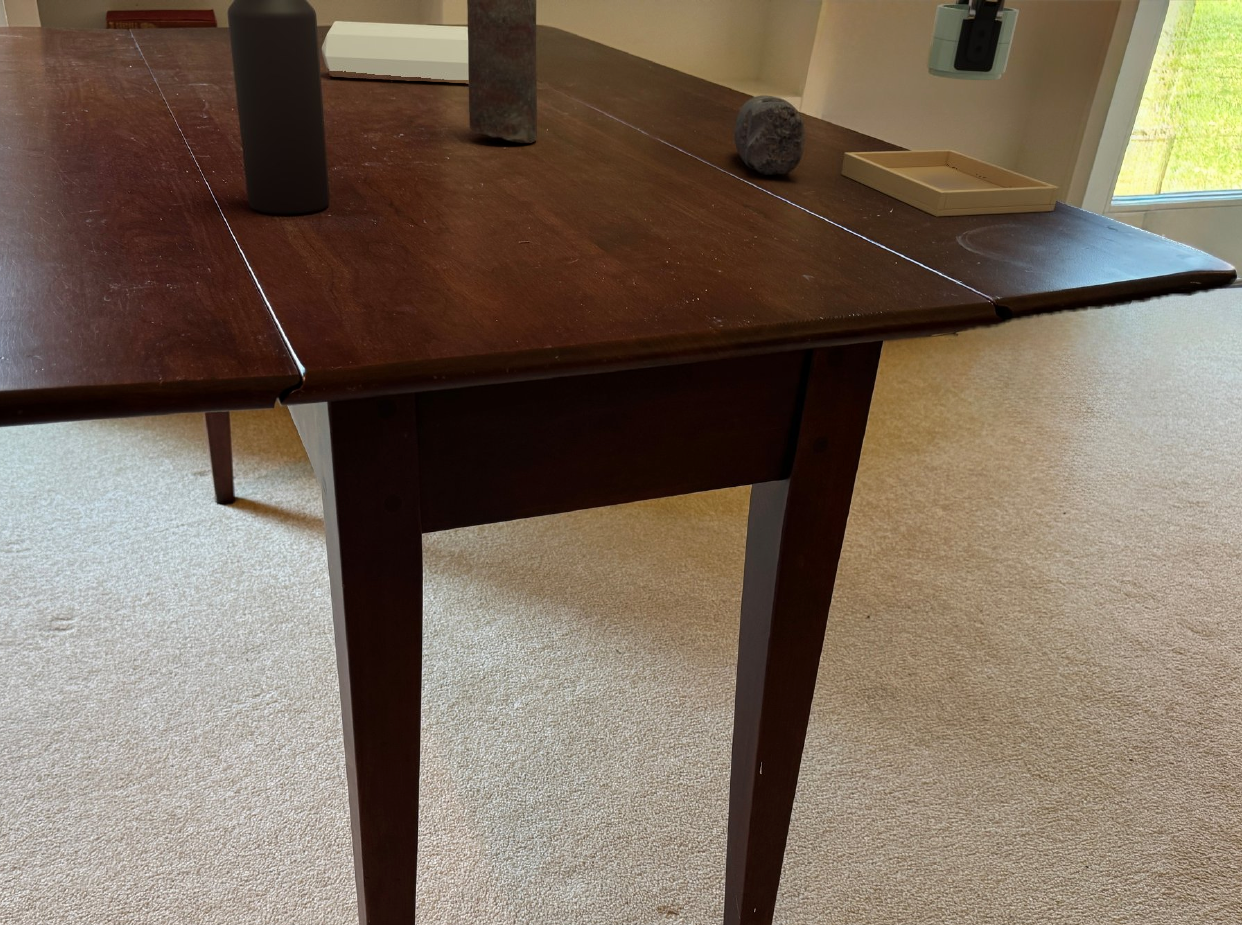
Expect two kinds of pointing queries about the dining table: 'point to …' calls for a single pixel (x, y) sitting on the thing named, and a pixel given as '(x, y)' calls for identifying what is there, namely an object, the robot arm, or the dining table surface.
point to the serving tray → (949, 182)
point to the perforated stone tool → (769, 135)
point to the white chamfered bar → (398, 50)
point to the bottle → (280, 105)
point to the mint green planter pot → (948, 37)
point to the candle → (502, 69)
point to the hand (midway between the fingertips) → (966, 63)
